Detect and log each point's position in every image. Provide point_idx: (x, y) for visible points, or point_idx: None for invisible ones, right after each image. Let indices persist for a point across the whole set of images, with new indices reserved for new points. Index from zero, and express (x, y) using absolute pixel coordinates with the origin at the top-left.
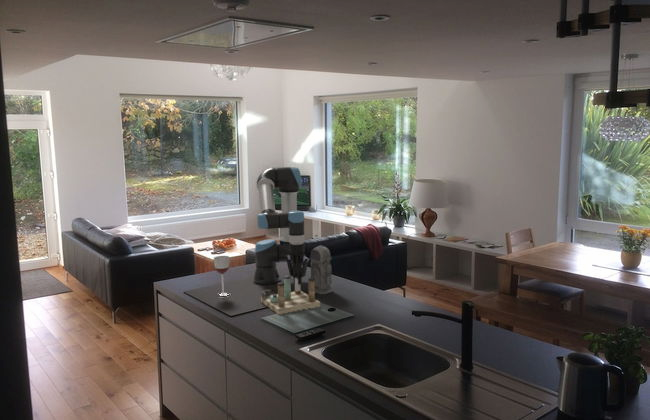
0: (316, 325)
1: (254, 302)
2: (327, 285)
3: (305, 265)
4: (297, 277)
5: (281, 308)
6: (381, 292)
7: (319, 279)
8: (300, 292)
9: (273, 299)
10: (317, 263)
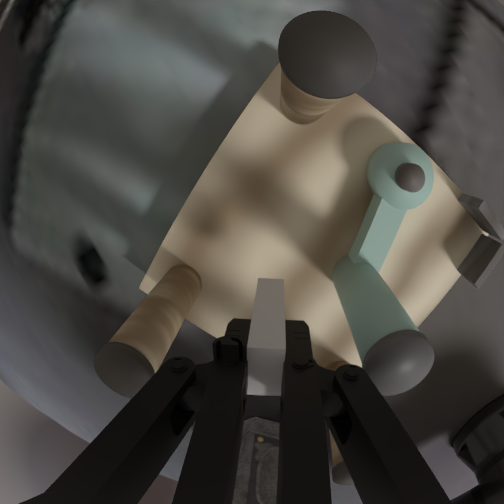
0: (53, 57)
1: (495, 202)
2: None
3: (76, 478)
4: (233, 345)
5: (277, 69)
6: None
7: (257, 472)
8: None
9: (396, 143)
10: None
